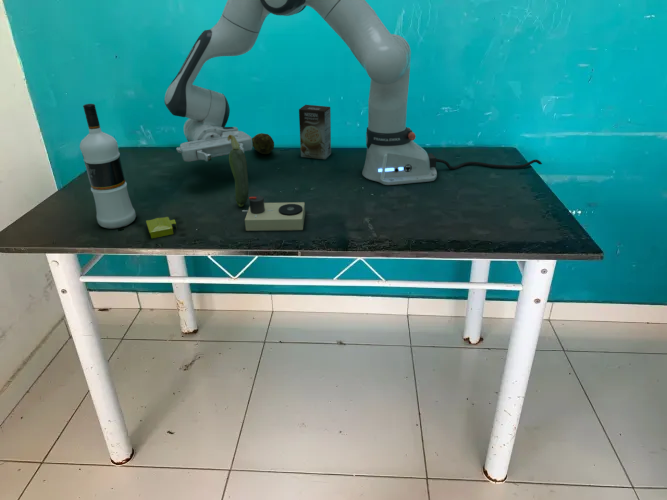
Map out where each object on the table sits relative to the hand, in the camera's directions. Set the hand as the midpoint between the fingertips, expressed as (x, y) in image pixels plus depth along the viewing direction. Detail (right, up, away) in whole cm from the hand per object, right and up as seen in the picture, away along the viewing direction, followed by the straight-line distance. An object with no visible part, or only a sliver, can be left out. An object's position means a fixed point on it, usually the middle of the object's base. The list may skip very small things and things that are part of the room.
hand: (225, 155), depth 143 cm
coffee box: (+24, +6, +33) cm, 41 cm away
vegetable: (+5, -15, -2) cm, 16 cm away
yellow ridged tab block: (-13, -21, -13) cm, 28 cm away
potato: (+6, +6, +35) cm, 37 cm away
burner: (+19, -16, -12) cm, 27 cm away
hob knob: (+10, -16, -12) cm, 22 cm away
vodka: (-26, -19, -8) cm, 33 cm away
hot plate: (+15, -19, -10) cm, 26 cm away
